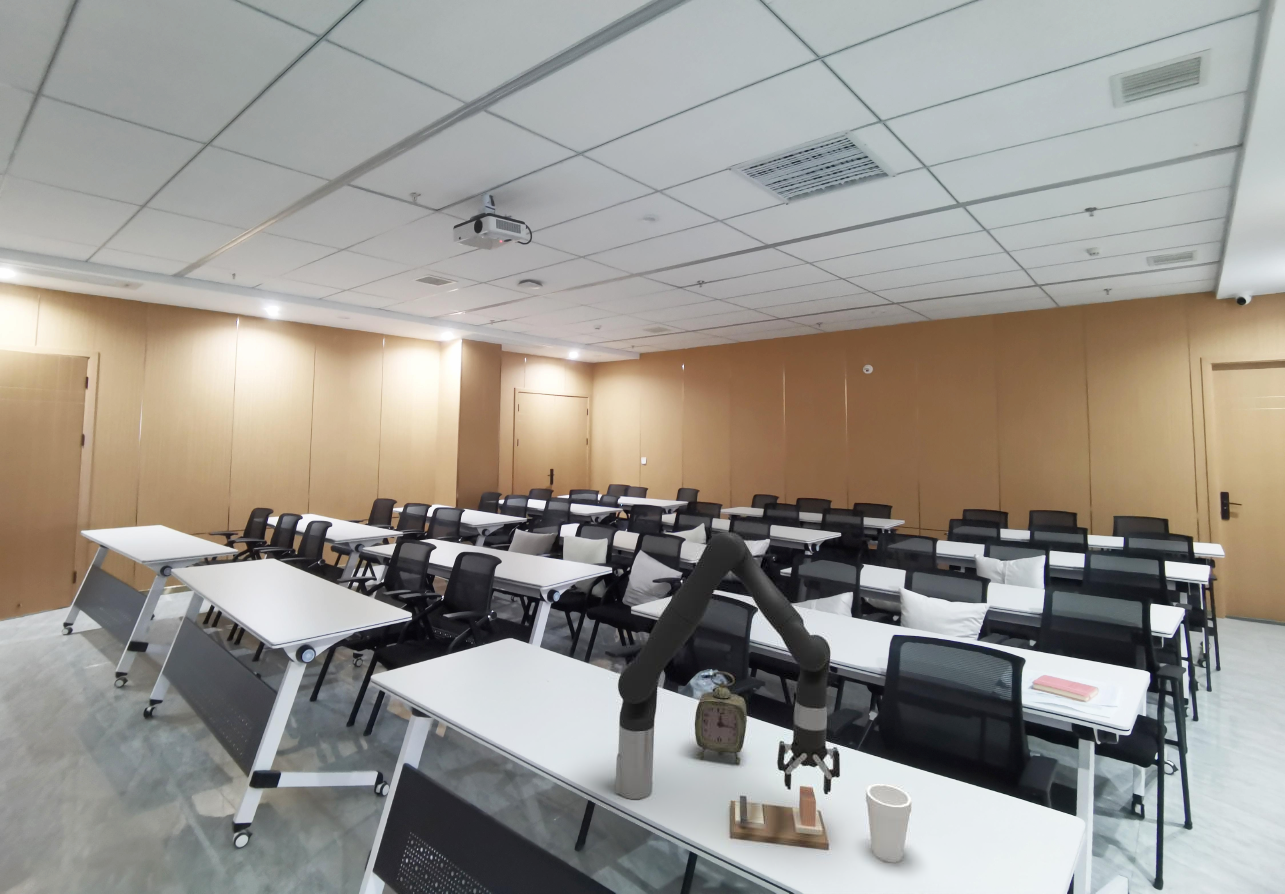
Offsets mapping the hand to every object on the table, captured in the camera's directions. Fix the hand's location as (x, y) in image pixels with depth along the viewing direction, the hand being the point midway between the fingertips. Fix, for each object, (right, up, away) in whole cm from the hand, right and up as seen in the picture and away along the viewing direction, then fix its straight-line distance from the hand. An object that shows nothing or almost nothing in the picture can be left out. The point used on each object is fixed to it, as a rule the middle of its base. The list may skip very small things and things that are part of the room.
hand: (807, 790), depth 145 cm
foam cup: (+16, -10, -7) cm, 20 cm away
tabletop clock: (-16, -10, +35) cm, 39 cm away
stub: (0, -8, 0) cm, 8 cm away
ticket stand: (-7, -9, +1) cm, 12 cm away
